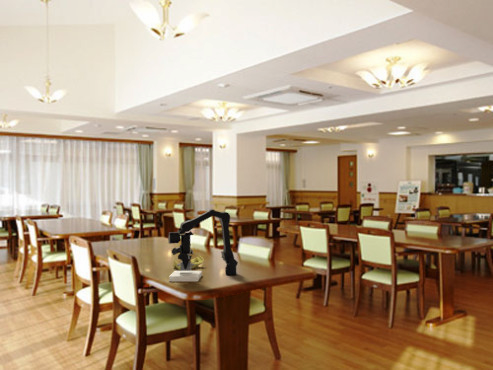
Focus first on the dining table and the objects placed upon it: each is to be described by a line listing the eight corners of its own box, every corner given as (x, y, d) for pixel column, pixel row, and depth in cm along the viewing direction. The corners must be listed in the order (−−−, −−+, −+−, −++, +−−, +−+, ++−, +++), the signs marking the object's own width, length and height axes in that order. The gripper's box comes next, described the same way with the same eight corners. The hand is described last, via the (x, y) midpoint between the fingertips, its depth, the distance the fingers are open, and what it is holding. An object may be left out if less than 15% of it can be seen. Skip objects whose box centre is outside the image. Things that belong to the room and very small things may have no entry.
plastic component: (180, 267, 276) (173, 259, 283) (178, 276, 278) (172, 268, 286) (206, 262, 287) (199, 254, 294) (204, 270, 290) (197, 262, 297)
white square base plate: (201, 275, 261) (201, 270, 261) (197, 281, 245) (197, 276, 245) (174, 275, 262) (174, 270, 262) (169, 281, 246) (169, 276, 246)
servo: (194, 269, 255) (194, 259, 255) (193, 270, 251) (193, 261, 251) (178, 269, 256) (178, 259, 256) (177, 270, 252) (177, 261, 252)
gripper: (175, 240, 263) (175, 265, 263) (169, 245, 244) (169, 271, 244) (193, 240, 263) (193, 265, 263) (188, 244, 244) (188, 271, 244)
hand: (186, 268), depth 253 cm, fingers closed on servo, 4 cm apart
